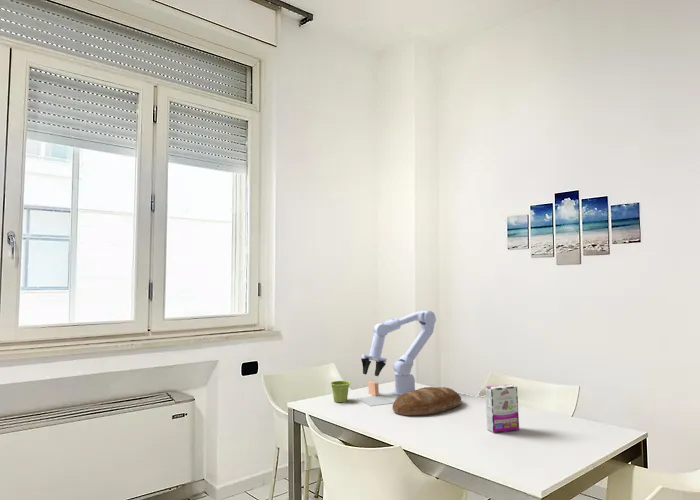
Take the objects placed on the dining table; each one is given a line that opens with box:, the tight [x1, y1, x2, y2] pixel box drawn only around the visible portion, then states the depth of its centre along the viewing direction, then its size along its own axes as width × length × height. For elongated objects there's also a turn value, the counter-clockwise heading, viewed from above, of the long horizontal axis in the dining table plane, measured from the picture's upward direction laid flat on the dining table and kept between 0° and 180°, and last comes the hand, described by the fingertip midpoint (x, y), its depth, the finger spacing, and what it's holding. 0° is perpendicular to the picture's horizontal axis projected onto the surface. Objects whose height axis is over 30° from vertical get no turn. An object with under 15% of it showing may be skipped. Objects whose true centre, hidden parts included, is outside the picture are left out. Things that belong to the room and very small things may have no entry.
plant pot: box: [330, 380, 351, 403], centre depth 240 cm, size 9×9×9 cm
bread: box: [392, 386, 462, 417], centre depth 227 cm, size 22×37×8 cm, turn 131°
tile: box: [367, 380, 380, 396], centre depth 251 cm, size 2×8×6 cm, turn 22°
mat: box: [356, 394, 395, 407], centre depth 239 cm, size 13×16×1 cm
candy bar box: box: [484, 383, 520, 434], centre depth 192 cm, size 11×5×16 cm, turn 105°
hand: (370, 375), depth 250 cm, fingers open, 7 cm apart
